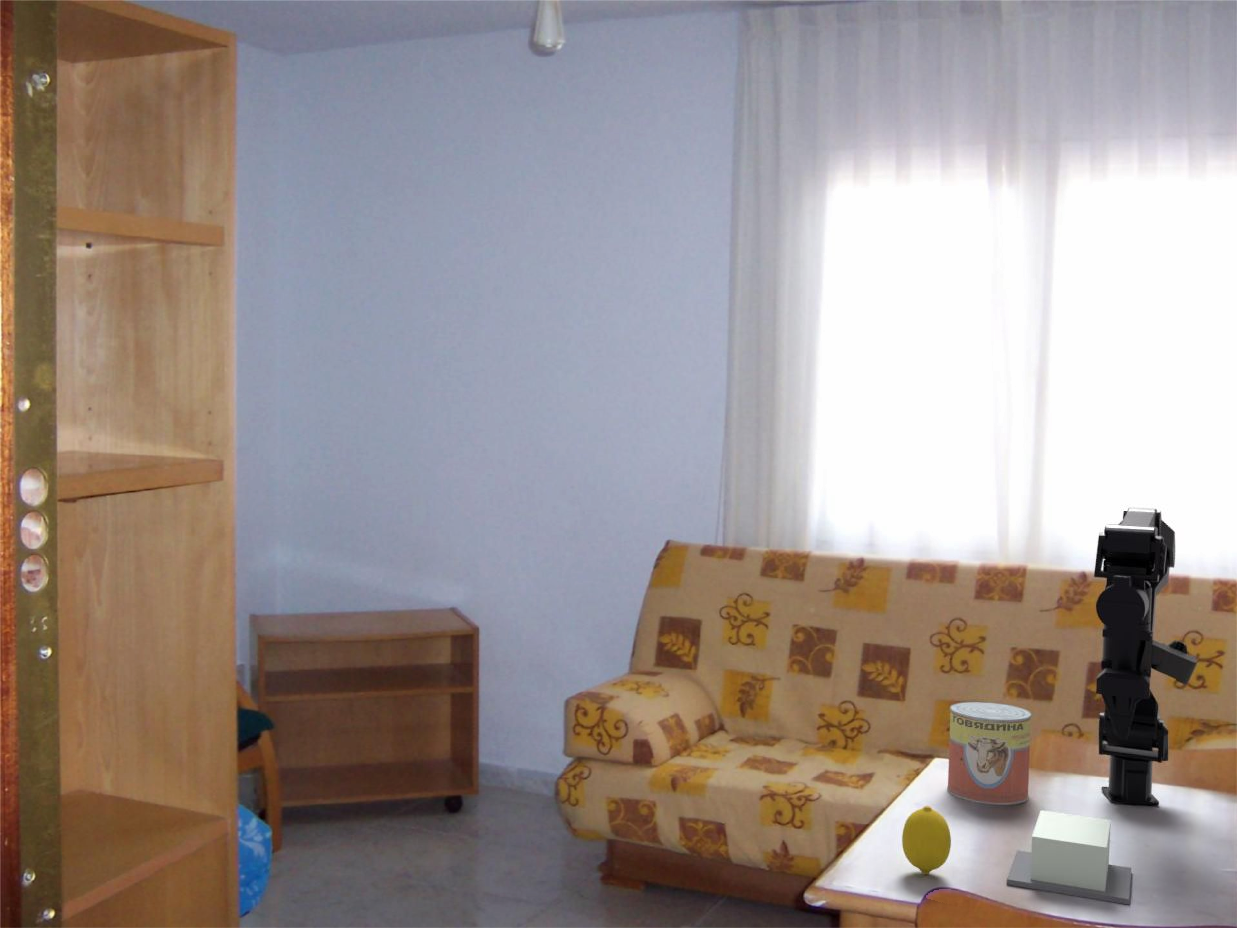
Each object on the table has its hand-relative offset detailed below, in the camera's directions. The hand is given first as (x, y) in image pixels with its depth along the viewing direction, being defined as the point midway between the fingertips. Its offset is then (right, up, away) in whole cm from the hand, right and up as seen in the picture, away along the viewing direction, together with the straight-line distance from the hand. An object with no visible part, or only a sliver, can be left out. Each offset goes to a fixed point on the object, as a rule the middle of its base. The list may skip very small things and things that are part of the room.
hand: (1122, 738), depth 164 cm
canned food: (-13, -11, +16) cm, 23 cm away
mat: (-14, -12, -18) cm, 26 cm away
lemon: (-30, -12, -18) cm, 37 cm away
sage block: (-11, -9, -12) cm, 19 cm away
